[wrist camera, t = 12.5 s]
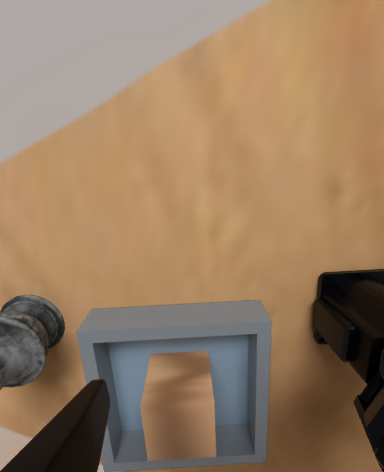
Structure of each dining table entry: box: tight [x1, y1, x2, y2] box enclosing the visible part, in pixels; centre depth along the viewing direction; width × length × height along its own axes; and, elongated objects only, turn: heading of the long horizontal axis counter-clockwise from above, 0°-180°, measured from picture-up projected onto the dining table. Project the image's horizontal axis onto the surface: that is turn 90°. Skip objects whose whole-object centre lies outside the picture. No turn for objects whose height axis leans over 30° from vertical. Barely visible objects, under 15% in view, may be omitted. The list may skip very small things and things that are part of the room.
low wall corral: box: [76, 300, 271, 472], centre depth 21 cm, size 14×14×3 cm
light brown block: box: [140, 351, 216, 461], centre depth 20 cm, size 5×5×5 cm
